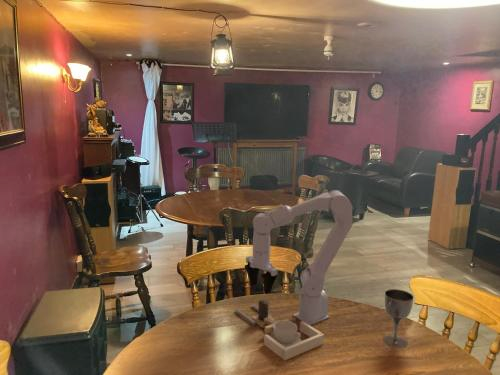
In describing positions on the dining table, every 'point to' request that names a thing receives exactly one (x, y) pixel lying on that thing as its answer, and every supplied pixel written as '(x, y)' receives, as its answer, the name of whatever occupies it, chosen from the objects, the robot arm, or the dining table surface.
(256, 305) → the rail
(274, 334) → the teacup
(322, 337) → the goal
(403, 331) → the dining table surface
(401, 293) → the wine glass
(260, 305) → the pushrod
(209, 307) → the dining table surface
